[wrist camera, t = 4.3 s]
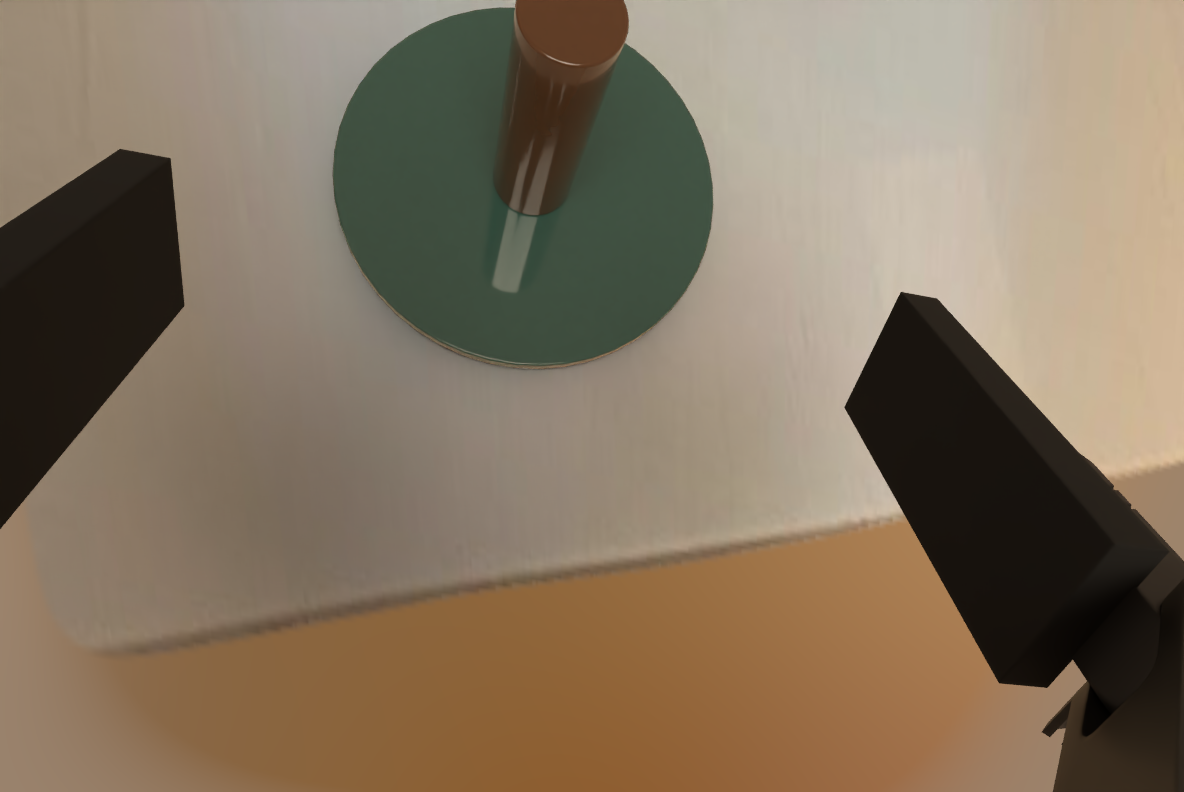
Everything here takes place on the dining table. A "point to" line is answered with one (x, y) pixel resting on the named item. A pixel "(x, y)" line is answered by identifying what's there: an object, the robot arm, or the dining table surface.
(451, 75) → the jar lid
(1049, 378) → the dining table surface
